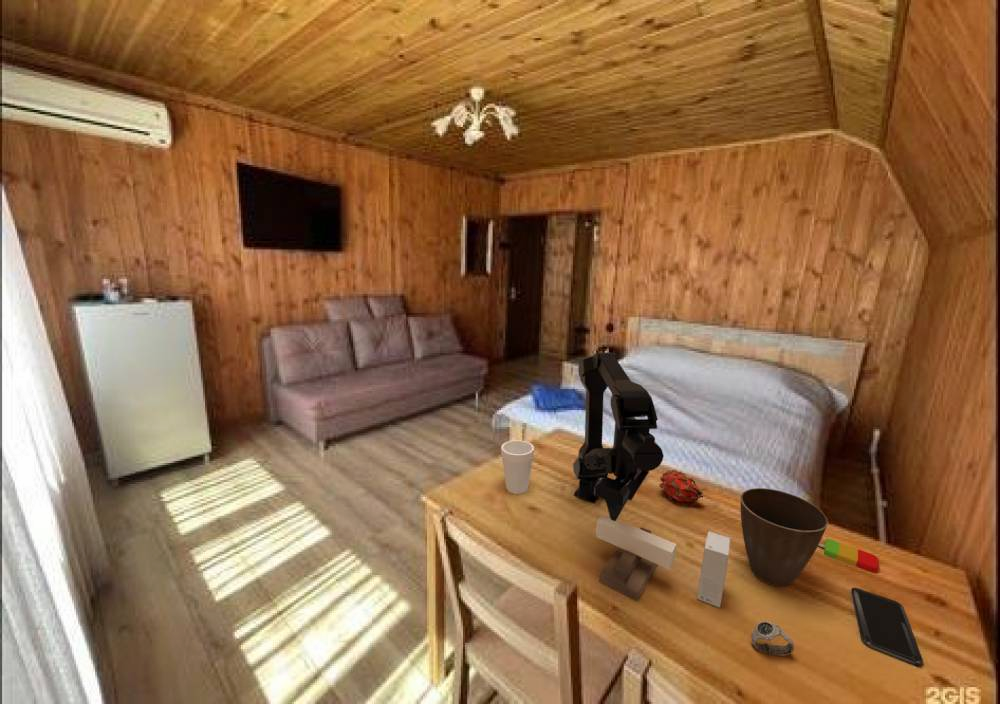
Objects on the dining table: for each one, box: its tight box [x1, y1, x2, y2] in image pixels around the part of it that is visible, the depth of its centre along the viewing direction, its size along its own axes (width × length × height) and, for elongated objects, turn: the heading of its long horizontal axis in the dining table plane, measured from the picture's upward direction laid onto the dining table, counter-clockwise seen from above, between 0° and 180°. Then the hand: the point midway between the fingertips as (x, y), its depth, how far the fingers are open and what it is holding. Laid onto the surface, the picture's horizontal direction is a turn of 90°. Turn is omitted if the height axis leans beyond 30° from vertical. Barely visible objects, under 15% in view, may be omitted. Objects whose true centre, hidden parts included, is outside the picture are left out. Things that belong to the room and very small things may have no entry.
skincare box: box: [696, 531, 731, 608], centre depth 81 cm, size 6×4×12 cm
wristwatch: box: [750, 621, 795, 657], centre depth 70 cm, size 4×6×5 cm, turn 73°
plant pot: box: [740, 487, 829, 587], centre depth 86 cm, size 15×15×16 cm
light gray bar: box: [595, 513, 677, 570], centre depth 88 cm, size 3×16×4 cm, turn 52°
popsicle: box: [818, 538, 880, 574], centre depth 94 cm, size 6×15×2 cm, turn 49°
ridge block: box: [599, 527, 658, 602], centre depth 89 cm, size 16×8×5 cm, turn 142°
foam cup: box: [500, 439, 535, 495], centre depth 118 cm, size 10×9×13 cm
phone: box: [850, 587, 924, 668], centre depth 76 cm, size 8×1×15 cm
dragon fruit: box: [658, 469, 704, 506], centre depth 114 cm, size 8×8×12 cm
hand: (621, 509), depth 91 cm, fingers open, 9 cm apart
